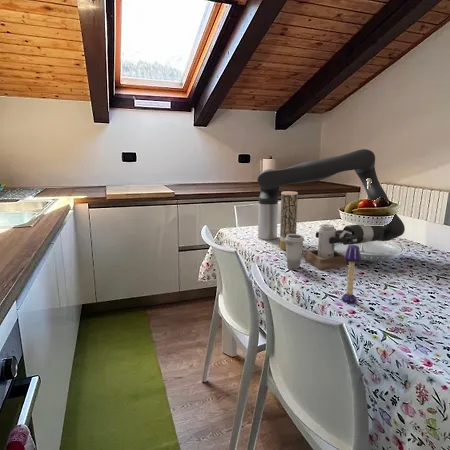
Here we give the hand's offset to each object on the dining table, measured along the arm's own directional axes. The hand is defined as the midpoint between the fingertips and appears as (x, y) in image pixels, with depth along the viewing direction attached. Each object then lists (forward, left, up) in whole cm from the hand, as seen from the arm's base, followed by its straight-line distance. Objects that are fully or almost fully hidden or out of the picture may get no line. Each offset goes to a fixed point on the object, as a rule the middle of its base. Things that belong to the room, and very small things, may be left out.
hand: (322, 237), depth 129 cm
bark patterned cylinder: (-22, -2, -11) cm, 25 cm away
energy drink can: (0, +2, -11) cm, 11 cm away
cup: (-1, -11, -11) cm, 16 cm away
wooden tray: (0, +2, -10) cm, 11 cm away
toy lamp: (+29, -10, -11) cm, 33 cm away
